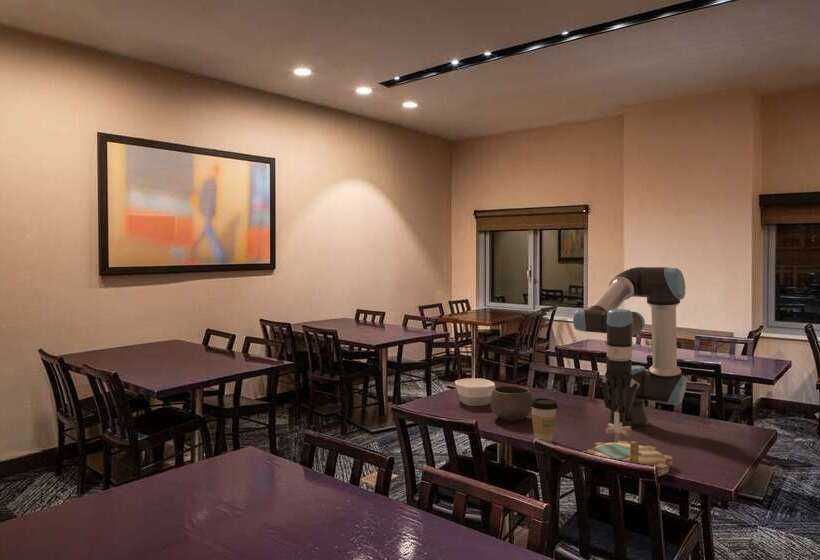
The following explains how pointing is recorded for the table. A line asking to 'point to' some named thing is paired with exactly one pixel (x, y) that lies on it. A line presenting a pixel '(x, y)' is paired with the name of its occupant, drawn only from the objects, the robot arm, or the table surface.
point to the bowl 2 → (511, 402)
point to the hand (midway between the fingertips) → (617, 431)
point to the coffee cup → (543, 417)
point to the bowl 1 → (474, 391)
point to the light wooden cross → (618, 435)
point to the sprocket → (633, 454)
